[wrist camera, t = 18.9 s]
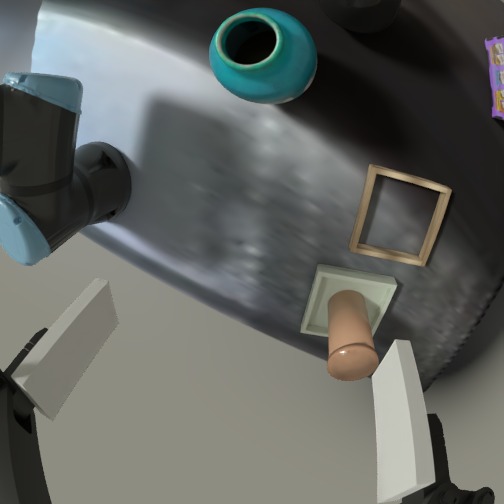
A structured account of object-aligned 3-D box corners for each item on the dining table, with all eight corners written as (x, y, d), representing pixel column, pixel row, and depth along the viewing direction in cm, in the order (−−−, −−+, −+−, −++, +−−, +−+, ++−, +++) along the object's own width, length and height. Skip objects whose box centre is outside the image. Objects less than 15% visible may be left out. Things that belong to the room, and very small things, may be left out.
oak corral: (348, 245, 44) (350, 251, 42) (369, 163, 37) (372, 166, 36) (420, 260, 43) (424, 266, 41) (446, 186, 36) (451, 190, 34)
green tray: (301, 323, 54) (300, 332, 52) (318, 263, 47) (318, 271, 45) (368, 333, 52) (369, 342, 50) (394, 277, 45) (397, 285, 43)
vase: (320, 101, 34) (329, 96, 18) (245, 109, 37) (192, 114, 20) (309, 32, 29) (306, -24, 13) (234, 42, 32) (175, 3, 16)
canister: (321, 318, 51) (321, 378, 39) (331, 285, 47) (335, 345, 35) (359, 323, 50) (367, 382, 38) (372, 291, 47) (386, 351, 35)
